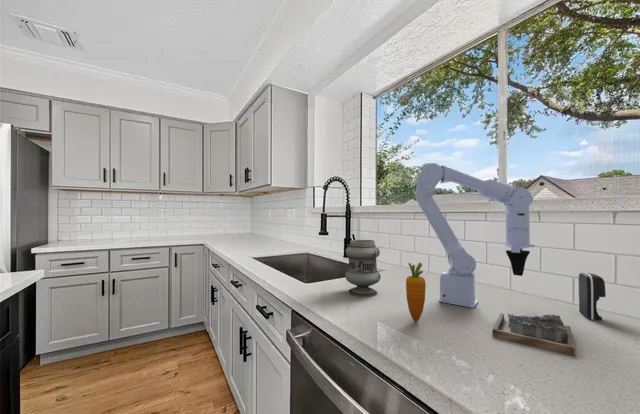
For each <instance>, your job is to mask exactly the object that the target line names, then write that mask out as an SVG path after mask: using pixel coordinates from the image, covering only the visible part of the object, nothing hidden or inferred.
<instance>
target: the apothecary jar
mask: <svg viewBox="0 0 640 414" xmlns="http://www.w3.org/2000/svg"><path fill="white" fill-rule="evenodd" d="M380 254H381V250H380V248H378V247H377V246H376V242H375V240H374V239H373V240H372V239H352V240H350V241H349V245H348V247H346V249H345V255H346V256H347V257H348V270H347V271H346V273H345V275H344V277H345V279H346V281H347V282H348V283H349V284H352V285H353V286H354V287H351V288H350V289H348V293H349V294H350V295H351V296H355V297H361V298H362V297H363V298H368V297H369V298H370V297H374V296H377V295H378V292H377V290H376V289H374V288H372V287H370V286H374V285H375V284H377V283H379V282H380V281H381V273H380V272H379V271H378V268H377V266H378V265H377V257H379V256H380Z"/></svg>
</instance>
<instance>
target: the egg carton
mask: <svg viewBox="0 0 640 414" xmlns="http://www.w3.org/2000/svg"><path fill="white" fill-rule="evenodd" d="M507 317H508V327H509V330H510V331H509V332H511V333H516V334H520V335H528V336H529V335H530V336H532V337H533V336H534V338H538V339H543V338H547V339H552V340H554V342H559V343H560V342H565V341H566V342H567V332H568V330H567V328H566V325H565V324H564V322H563V320H562V318H561V316H560V315H556V314H543V315H542V316H538V315H534V316H528V315H514V314H511V313H507Z"/></svg>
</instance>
